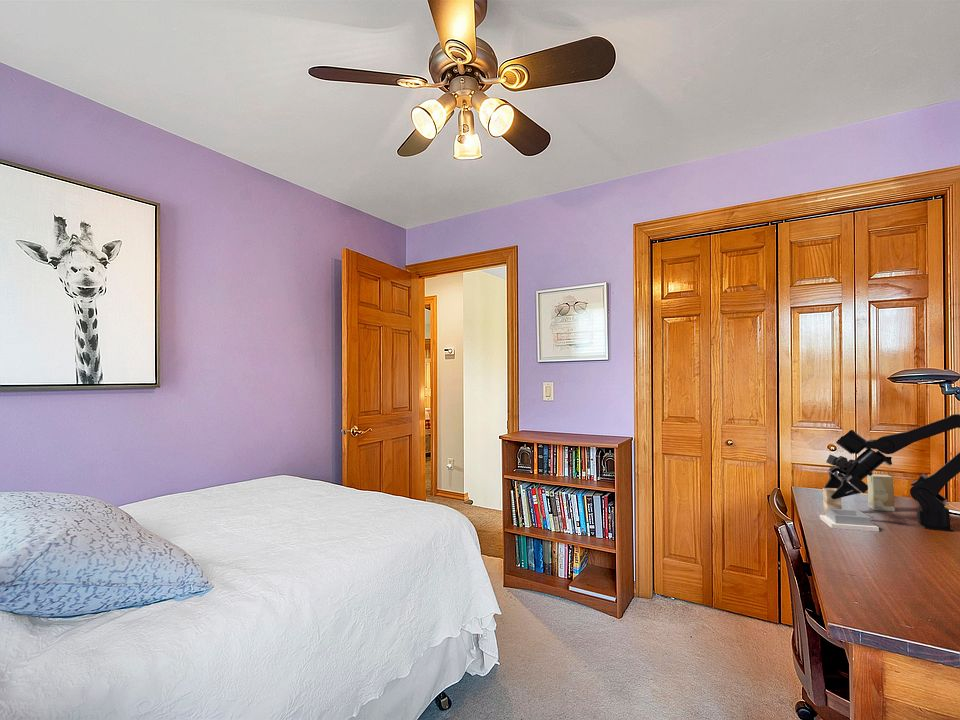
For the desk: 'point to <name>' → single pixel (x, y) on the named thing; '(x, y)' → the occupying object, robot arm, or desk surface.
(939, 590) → the desk surface
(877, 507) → the skincare box
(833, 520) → the square tray
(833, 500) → the block
